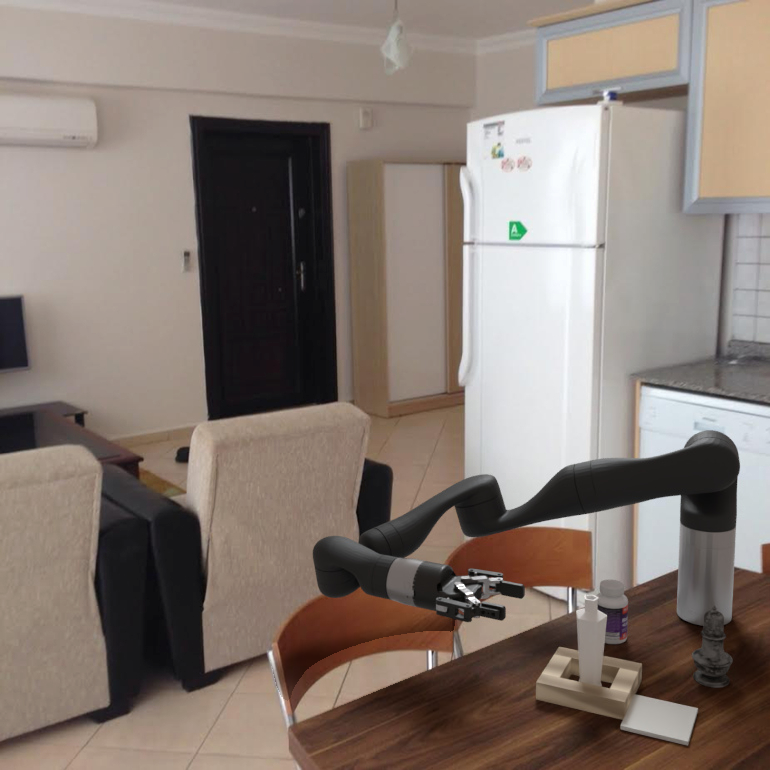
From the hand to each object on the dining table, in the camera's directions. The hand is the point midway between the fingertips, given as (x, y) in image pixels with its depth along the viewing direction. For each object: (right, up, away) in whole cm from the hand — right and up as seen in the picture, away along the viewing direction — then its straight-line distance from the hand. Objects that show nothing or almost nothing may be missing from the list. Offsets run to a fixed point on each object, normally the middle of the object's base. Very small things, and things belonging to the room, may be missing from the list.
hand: (514, 602), depth 133 cm
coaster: (+19, -14, -11) cm, 26 cm away
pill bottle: (+18, -10, +14) cm, 25 cm away
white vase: (+11, -13, -2) cm, 17 cm away
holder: (+11, -13, -2) cm, 17 cm away
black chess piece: (+30, -12, 0) cm, 33 cm away
